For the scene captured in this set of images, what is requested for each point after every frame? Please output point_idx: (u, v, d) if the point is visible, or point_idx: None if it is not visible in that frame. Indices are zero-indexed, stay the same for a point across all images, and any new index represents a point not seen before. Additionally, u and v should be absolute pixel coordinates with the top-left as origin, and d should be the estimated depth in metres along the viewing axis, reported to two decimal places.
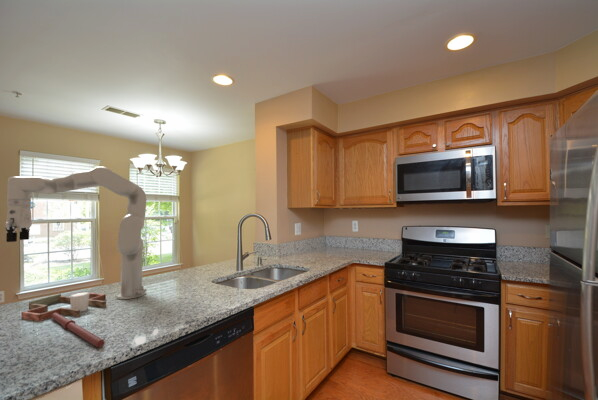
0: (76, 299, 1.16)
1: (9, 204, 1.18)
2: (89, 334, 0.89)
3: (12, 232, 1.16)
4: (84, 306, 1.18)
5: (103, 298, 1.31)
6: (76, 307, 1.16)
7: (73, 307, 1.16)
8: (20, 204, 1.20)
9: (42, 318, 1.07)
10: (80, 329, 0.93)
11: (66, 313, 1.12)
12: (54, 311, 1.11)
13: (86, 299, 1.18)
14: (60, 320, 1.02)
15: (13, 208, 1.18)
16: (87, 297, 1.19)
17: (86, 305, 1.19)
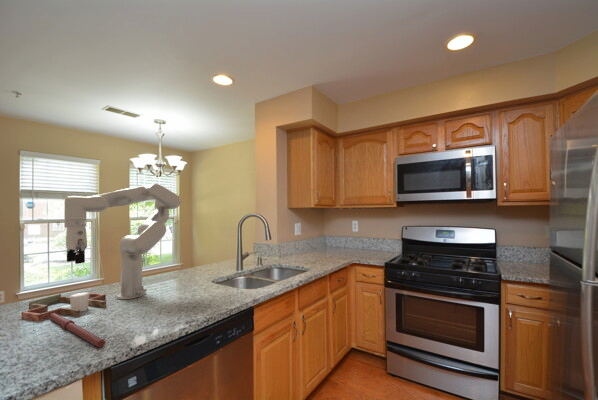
0: (76, 299, 1.16)
1: (73, 225, 1.15)
2: (89, 334, 0.89)
3: (83, 253, 1.15)
4: (84, 306, 1.18)
5: (103, 298, 1.31)
6: (76, 307, 1.16)
7: (73, 307, 1.16)
8: (83, 224, 1.18)
9: (42, 318, 1.07)
10: (80, 329, 0.93)
11: (66, 313, 1.12)
12: (54, 311, 1.11)
13: (86, 299, 1.18)
14: (59, 320, 1.02)
15: (80, 229, 1.16)
16: (87, 297, 1.19)
17: (86, 305, 1.19)
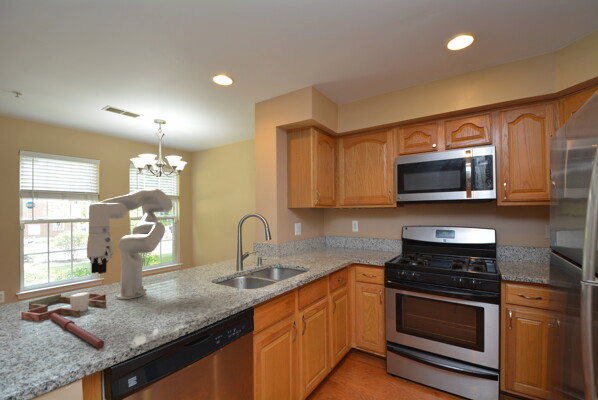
0: (76, 299, 1.16)
1: (100, 232, 1.14)
2: (89, 335, 0.89)
3: (105, 263, 1.16)
4: (84, 306, 1.18)
5: (103, 298, 1.31)
6: (76, 307, 1.16)
7: (73, 307, 1.16)
8: (109, 231, 1.17)
9: (42, 318, 1.07)
10: (79, 330, 0.93)
11: (66, 313, 1.12)
12: (54, 311, 1.11)
13: (86, 299, 1.18)
14: (59, 321, 1.02)
15: (107, 236, 1.15)
16: (87, 297, 1.19)
17: (86, 305, 1.19)
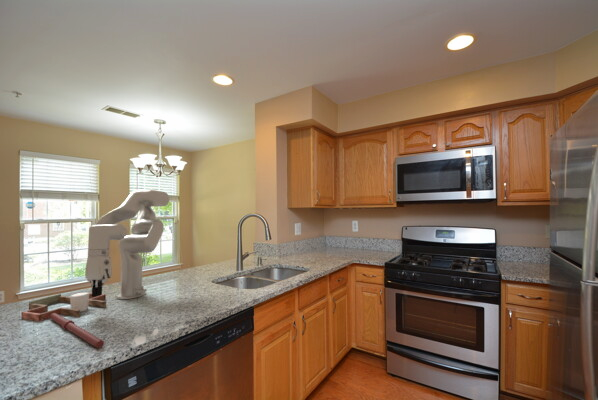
0: (76, 299, 1.16)
1: (99, 255, 1.13)
2: (88, 334, 0.89)
3: None
4: (84, 306, 1.18)
5: (103, 298, 1.31)
6: (76, 307, 1.16)
7: (73, 307, 1.16)
8: (108, 254, 1.17)
9: (42, 318, 1.07)
10: (79, 329, 0.93)
11: (66, 313, 1.12)
12: (54, 311, 1.11)
13: (86, 299, 1.18)
14: (59, 320, 1.02)
15: (106, 258, 1.14)
16: (87, 297, 1.19)
17: (86, 305, 1.19)
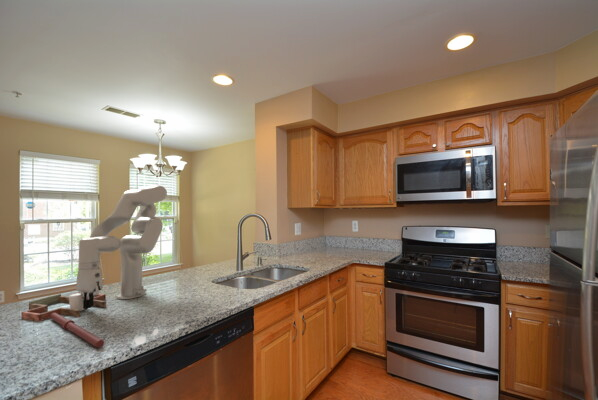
0: (74, 299, 1.16)
1: (90, 268, 1.15)
2: (88, 334, 0.89)
3: None
4: None
5: (103, 298, 1.31)
6: (75, 307, 1.16)
7: (71, 307, 1.16)
8: (99, 266, 1.18)
9: (42, 318, 1.07)
10: (79, 329, 0.93)
11: (66, 313, 1.12)
12: (54, 311, 1.11)
13: None
14: (59, 320, 1.02)
15: (97, 271, 1.16)
16: None
17: None
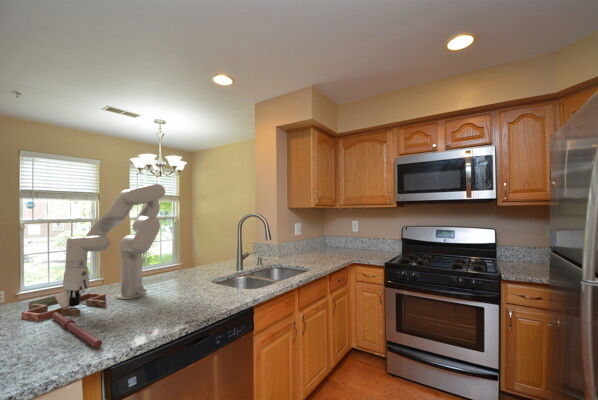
0: (60, 296, 1.17)
1: (77, 266, 1.17)
2: (87, 334, 0.88)
3: None
4: None
5: (103, 298, 1.31)
6: (63, 303, 1.17)
7: (60, 304, 1.17)
8: (86, 265, 1.20)
9: (42, 318, 1.07)
10: (79, 329, 0.93)
11: (66, 313, 1.12)
12: (54, 311, 1.11)
13: None
14: (60, 320, 1.02)
15: (84, 270, 1.18)
16: None
17: None
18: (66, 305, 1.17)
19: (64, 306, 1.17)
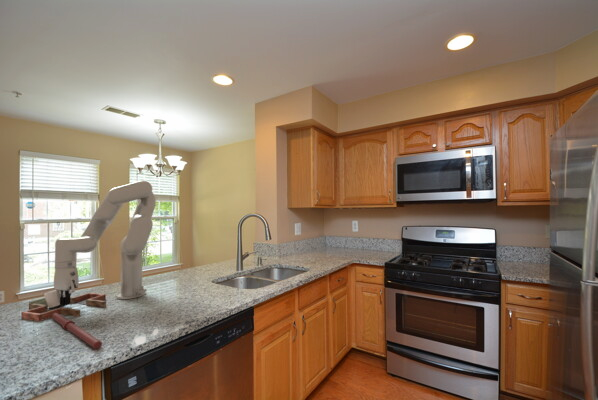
0: (49, 295, 1.20)
1: (66, 267, 1.19)
2: (87, 335, 0.88)
3: None
4: (59, 301, 1.22)
5: (103, 298, 1.31)
6: (51, 302, 1.20)
7: (48, 303, 1.20)
8: (75, 265, 1.23)
9: (42, 318, 1.07)
10: (79, 330, 0.92)
11: (66, 313, 1.12)
12: (54, 311, 1.11)
13: None
14: (60, 320, 1.02)
15: (72, 270, 1.21)
16: None
17: None
18: (53, 305, 1.20)
19: (51, 306, 1.20)
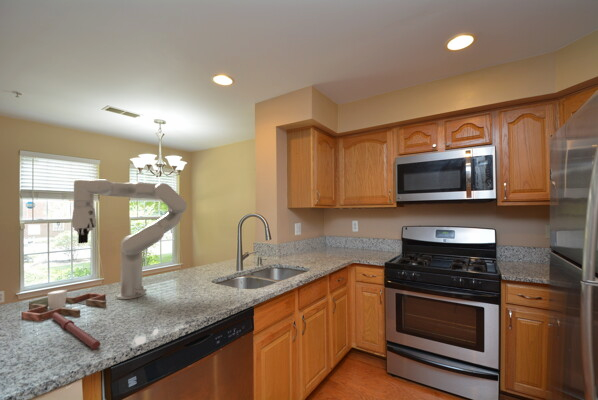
0: (52, 296, 1.20)
1: (84, 205, 1.25)
2: (86, 335, 0.88)
3: None
4: (60, 303, 1.22)
5: (103, 298, 1.31)
6: (52, 304, 1.20)
7: (49, 304, 1.20)
8: (92, 205, 1.29)
9: (42, 318, 1.07)
10: (77, 330, 0.92)
11: (66, 313, 1.12)
12: (54, 311, 1.11)
13: (62, 297, 1.22)
14: (59, 320, 1.02)
15: (90, 209, 1.26)
16: (64, 295, 1.23)
17: (63, 302, 1.23)
18: (54, 307, 1.20)
19: (52, 307, 1.20)
